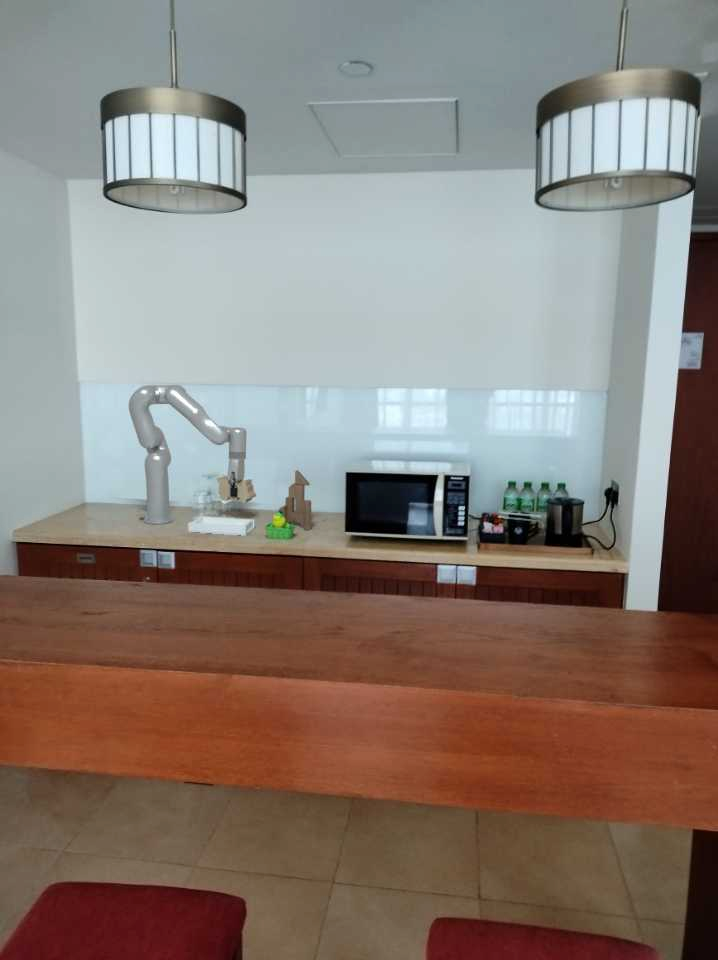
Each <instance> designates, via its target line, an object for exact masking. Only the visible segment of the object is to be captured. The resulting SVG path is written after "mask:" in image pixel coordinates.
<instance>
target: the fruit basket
mask: <svg viewBox="0 0 718 960" xmlns="http://www.w3.org/2000/svg"><path fill="white" fill-rule="evenodd" d="M272 517H273V518H272V522H269V523H268V524H267V525H265V526H264V529H265V531H266V535H267V538H268V539H274V540H286V541H289V540H290V539H292V538H293V535H294V533H295V528H296V524H292V523H291V524H288V523H286V524H285V521H286V519H285V518H284V517H283V516H282V514H281V513H278V512H277V513H275V514H274V515H273V516H272Z"/></svg>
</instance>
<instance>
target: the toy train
mask: <svg viewBox="0 0 718 960" xmlns="http://www.w3.org/2000/svg"><path fill="white" fill-rule="evenodd" d="M216 481H217V483H218V495H219V498H220V499H221V500H222V501H228V500H230V501H232V502H236V501H240V502H241V503H243V504H244V503H248V502H250V501H252V499H253V498H255V497H257V493H256V492H255V490H254V484H252V483H253V480H252V479H251V478H248V479H245V480H244V479H243V481H238V483H237V488H238V493H237V497H232V496H230V481H228V476H221V477H217V478H216ZM234 481H236V480H234Z"/></svg>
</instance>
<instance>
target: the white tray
mask: <svg viewBox="0 0 718 960" xmlns="http://www.w3.org/2000/svg"><path fill="white" fill-rule="evenodd" d="M187 526H188V529H187V530H188V533H190V532H200V533H199V534H206V533H212V534H211V535H221V534H224V536H237V535H241V536H240V537H246V536H247V534H248V535H249V534H251V532H252V530H253V531H254V530H255V529H256V519H252V518H251V519H250V518H236V517H235V518H233V517H221V516H218V517H216V516H202V515H200V516H198V517H197V518H196V519H194V520H192V521H190V522H188V523H187Z"/></svg>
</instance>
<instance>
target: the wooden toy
mask: <svg viewBox="0 0 718 960" xmlns="http://www.w3.org/2000/svg"><path fill="white" fill-rule="evenodd" d="M294 473H295V475H294V483H291V485H290V486H289V487H288V496H287V497H285V505H283V506H281V507H280V508H279V509H278V511H277V513H281V514H282V516H283V517H284V518H285V519H286V521H285V524H286V523H288V524H292V521H297V522H298V523H299V525H300V528H302V529H303V530H304V531H311V530H312V500H310V499H305V489H306V488H305V486H310V485H311V484H310V482H309V481H308V480H307V479H306V478H305V477H304V475H303V474H302V473H301V471H299V470H298V469H297V470H295V471H294Z"/></svg>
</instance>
